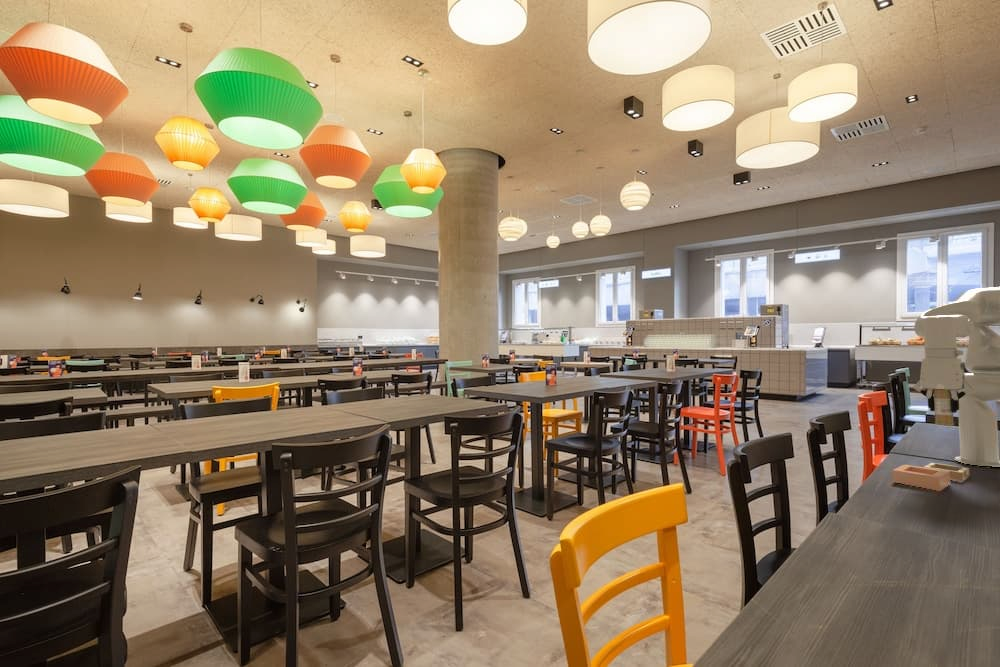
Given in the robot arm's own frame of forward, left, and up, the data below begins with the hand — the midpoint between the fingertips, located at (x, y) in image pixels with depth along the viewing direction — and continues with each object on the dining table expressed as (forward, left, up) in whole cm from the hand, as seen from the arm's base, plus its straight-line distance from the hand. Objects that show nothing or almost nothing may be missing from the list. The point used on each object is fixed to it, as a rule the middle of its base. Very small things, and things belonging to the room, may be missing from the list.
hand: (943, 410), depth 152 cm
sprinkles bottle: (0, 0, -5) cm, 5 cm away
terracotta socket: (+15, -3, -21) cm, 26 cm away
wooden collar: (0, 0, -21) cm, 21 cm away
